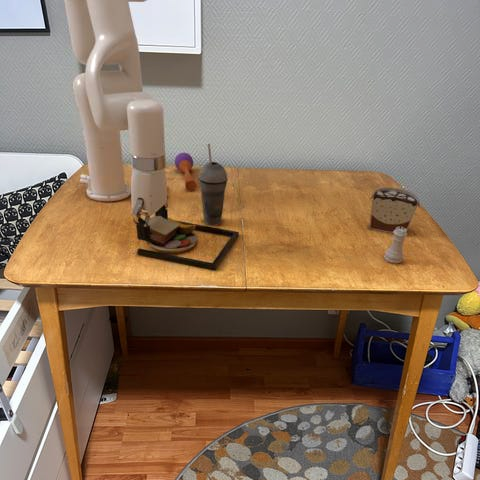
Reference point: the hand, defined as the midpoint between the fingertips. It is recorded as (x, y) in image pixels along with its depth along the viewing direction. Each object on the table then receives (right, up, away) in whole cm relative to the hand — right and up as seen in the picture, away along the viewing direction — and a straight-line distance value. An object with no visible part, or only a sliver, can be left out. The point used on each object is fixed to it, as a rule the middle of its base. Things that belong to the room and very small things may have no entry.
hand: (153, 231), depth 114 cm
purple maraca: (+4, +23, +34) cm, 41 cm away
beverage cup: (+14, +4, +10) cm, 18 cm away
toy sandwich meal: (+4, -3, -1) cm, 5 cm away
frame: (+9, -3, -1) cm, 9 cm away
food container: (+61, +3, +12) cm, 63 cm away
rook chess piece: (+58, -7, -2) cm, 58 cm away
